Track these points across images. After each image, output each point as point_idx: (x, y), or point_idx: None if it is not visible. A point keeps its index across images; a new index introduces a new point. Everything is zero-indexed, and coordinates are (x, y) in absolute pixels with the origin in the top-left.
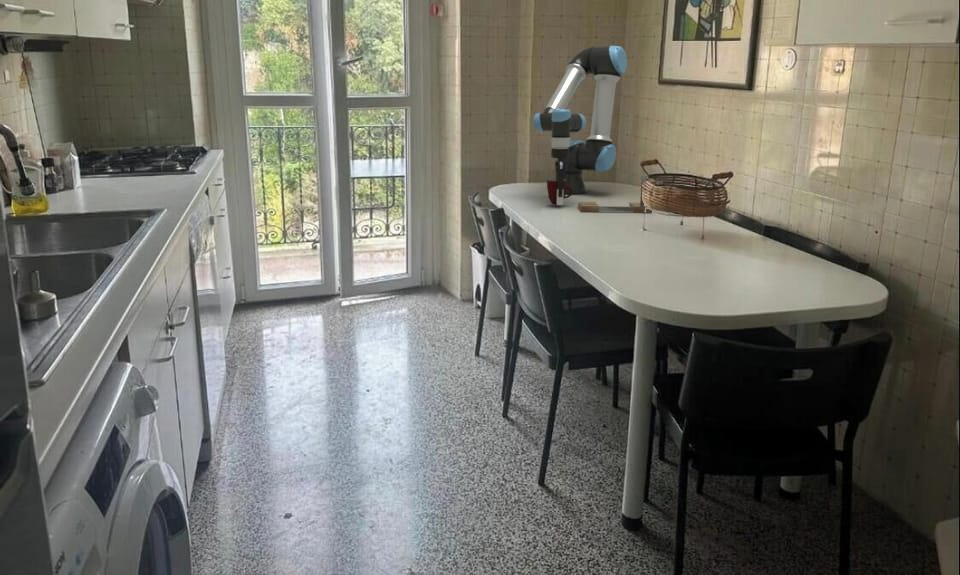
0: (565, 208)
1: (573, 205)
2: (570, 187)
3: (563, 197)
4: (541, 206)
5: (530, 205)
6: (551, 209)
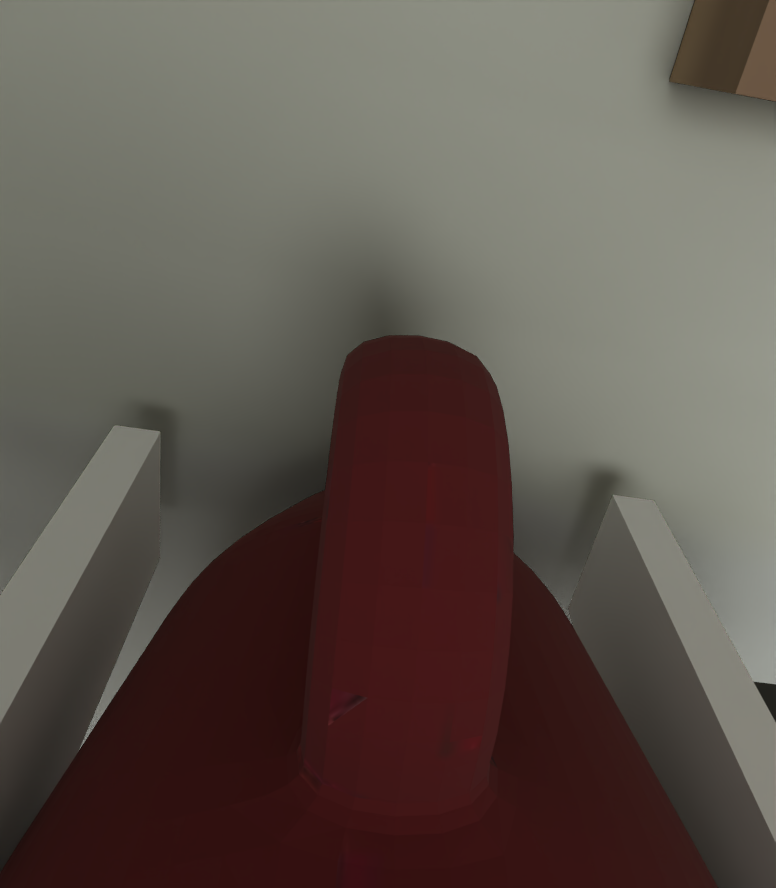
0: (706, 430)
1: (192, 95)
2: (496, 596)
3: (523, 571)
4: None
5: None
6: (756, 678)
